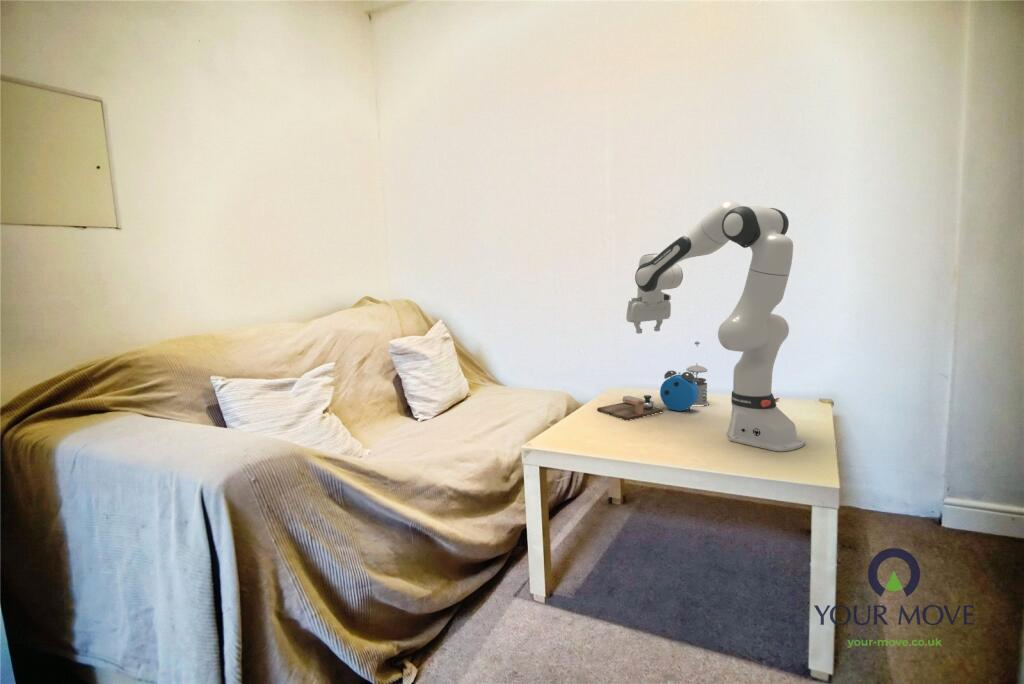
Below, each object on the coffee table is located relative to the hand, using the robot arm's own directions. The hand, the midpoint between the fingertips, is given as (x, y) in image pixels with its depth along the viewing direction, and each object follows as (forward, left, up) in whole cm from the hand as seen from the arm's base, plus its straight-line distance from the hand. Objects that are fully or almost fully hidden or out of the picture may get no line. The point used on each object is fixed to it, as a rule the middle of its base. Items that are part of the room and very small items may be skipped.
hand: (648, 332), depth 206 cm
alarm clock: (-11, -5, -30) cm, 32 cm away
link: (-1, +6, -28) cm, 28 cm away
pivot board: (-2, +12, -29) cm, 32 cm away
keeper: (-6, +13, -28) cm, 32 cm away
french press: (-8, -18, -30) cm, 35 cm away
